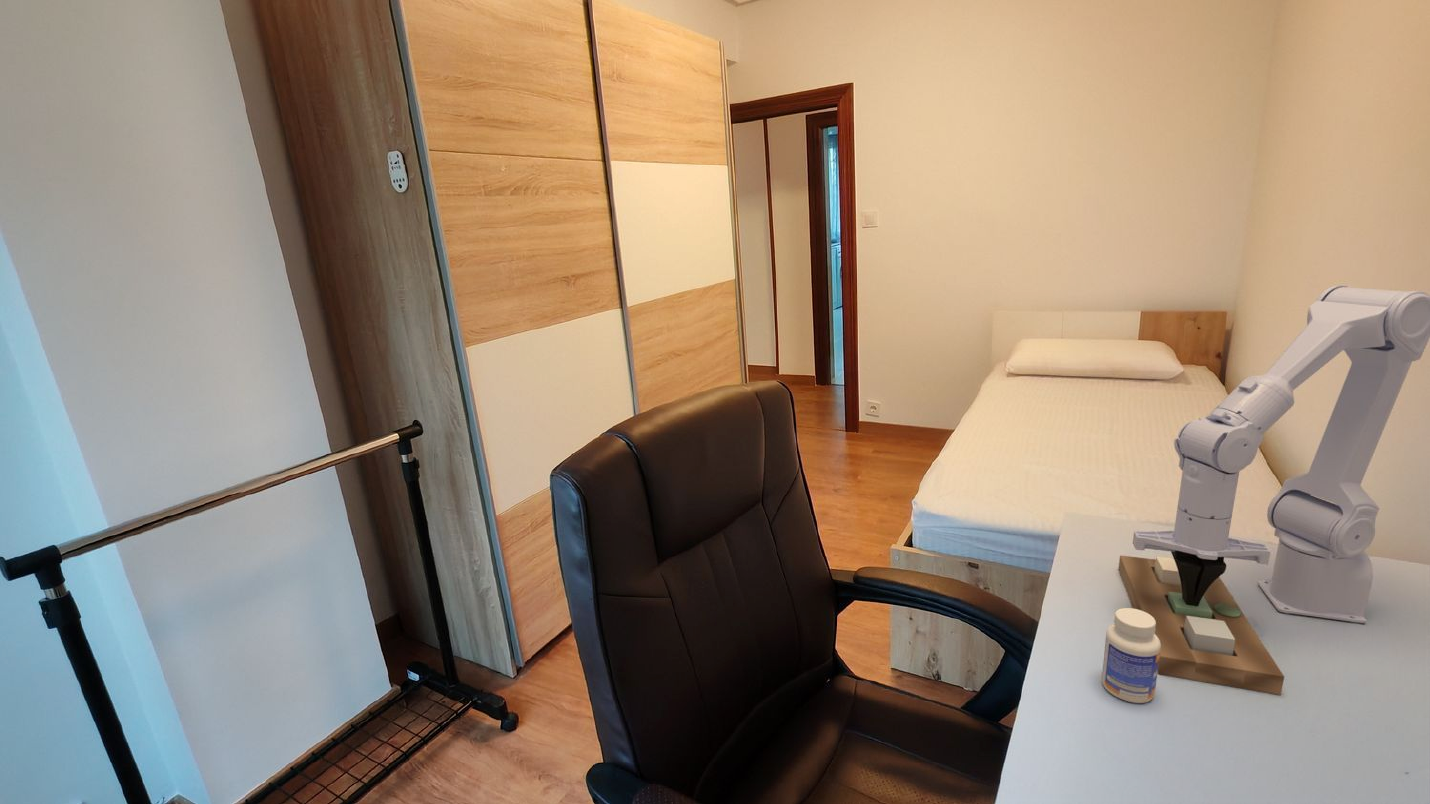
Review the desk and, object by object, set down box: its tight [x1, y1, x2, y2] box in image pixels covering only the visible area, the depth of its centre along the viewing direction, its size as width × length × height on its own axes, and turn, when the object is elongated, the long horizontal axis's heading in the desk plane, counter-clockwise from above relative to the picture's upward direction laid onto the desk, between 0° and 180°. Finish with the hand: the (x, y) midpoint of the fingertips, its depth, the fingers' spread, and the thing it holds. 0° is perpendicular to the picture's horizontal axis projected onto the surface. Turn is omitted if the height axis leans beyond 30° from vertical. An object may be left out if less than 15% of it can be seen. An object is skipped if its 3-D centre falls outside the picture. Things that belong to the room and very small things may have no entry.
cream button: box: [1154, 556, 1181, 586], centre depth 95 cm, size 4×4×3 cm
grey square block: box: [1183, 616, 1235, 656], centre depth 81 cm, size 4×4×3 cm
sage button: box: [1167, 592, 1213, 619], centre depth 88 cm, size 4×4×3 cm
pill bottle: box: [1101, 607, 1161, 704], centre depth 76 cm, size 5×5×10 cm
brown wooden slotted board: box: [1118, 555, 1285, 696], centre depth 88 cm, size 12×26×3 cm, turn 158°
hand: (1189, 601), depth 88 cm, fingers closed, pressing on sage button
